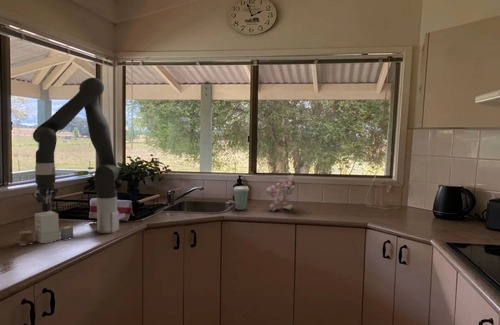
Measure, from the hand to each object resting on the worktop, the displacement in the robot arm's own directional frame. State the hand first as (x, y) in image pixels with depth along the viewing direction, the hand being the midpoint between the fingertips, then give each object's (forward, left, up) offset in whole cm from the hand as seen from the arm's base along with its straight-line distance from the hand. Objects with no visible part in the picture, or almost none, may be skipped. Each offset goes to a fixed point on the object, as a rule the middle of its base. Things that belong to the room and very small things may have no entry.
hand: (46, 211), depth 149 cm
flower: (-100, -88, -14) cm, 134 cm away
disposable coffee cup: (-74, -85, -14) cm, 113 cm away
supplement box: (0, 0, -14) cm, 14 cm away
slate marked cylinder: (-6, -5, -14) cm, 16 cm away
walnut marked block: (+6, +5, -14) cm, 16 cm away
